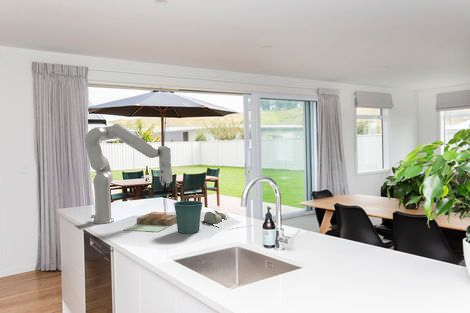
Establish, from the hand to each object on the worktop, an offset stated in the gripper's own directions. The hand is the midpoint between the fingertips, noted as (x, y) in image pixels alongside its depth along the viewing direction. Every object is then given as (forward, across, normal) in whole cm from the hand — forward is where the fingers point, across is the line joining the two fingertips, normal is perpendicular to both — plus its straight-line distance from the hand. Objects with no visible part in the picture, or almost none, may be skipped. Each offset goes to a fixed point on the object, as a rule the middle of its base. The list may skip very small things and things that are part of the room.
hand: (166, 193), depth 247 cm
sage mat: (+17, -26, +1) cm, 31 cm away
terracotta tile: (+13, -12, +1) cm, 18 cm away
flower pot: (+17, -27, -26) cm, 42 cm away
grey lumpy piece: (+18, -2, -40) cm, 44 cm away
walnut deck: (+17, -11, +1) cm, 20 cm away
